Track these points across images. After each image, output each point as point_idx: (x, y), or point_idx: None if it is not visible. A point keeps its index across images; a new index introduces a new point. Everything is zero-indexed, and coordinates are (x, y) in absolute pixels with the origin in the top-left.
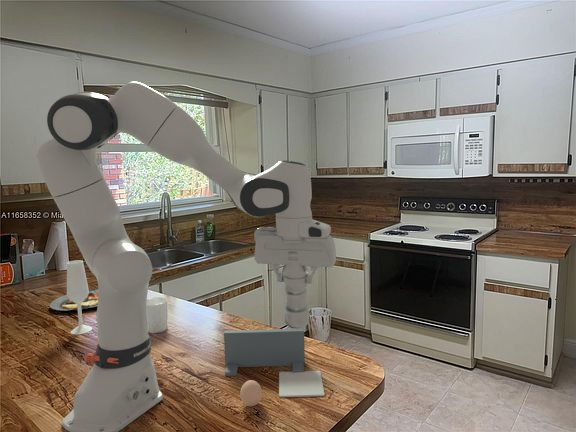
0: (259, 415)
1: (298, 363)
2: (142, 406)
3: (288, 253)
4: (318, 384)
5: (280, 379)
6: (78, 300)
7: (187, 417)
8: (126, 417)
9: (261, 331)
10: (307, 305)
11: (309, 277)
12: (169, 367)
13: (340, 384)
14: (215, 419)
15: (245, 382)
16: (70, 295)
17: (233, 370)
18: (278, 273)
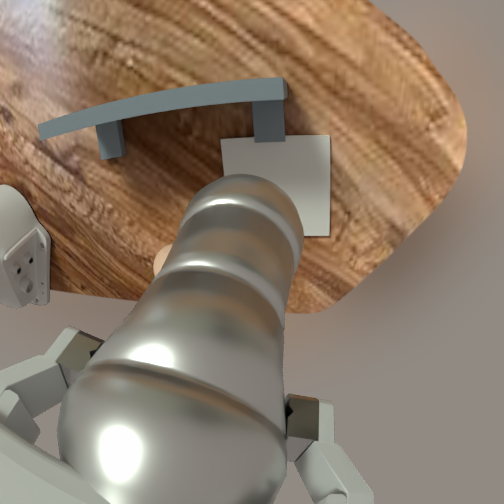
0: None
1: (269, 106)
2: (42, 264)
3: None
4: (319, 197)
5: (227, 173)
6: None
7: (101, 278)
8: (41, 284)
9: (128, 112)
10: (293, 271)
11: (295, 460)
12: (16, 141)
13: (371, 192)
14: (139, 286)
15: (156, 273)
16: None
17: (115, 150)
18: (59, 398)
